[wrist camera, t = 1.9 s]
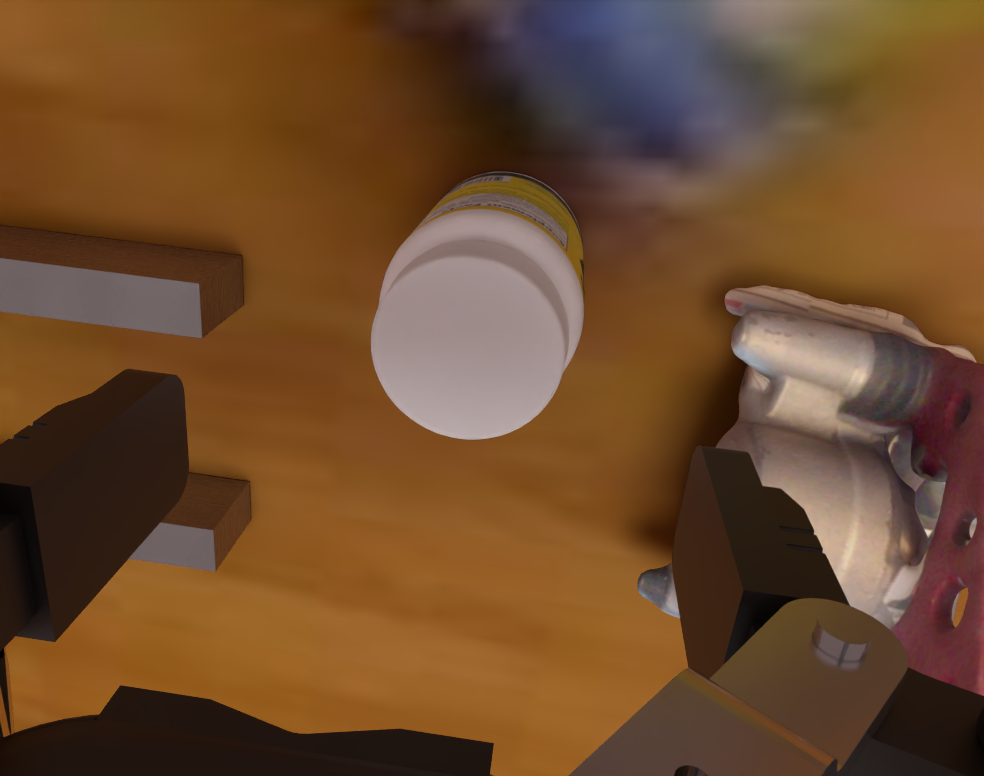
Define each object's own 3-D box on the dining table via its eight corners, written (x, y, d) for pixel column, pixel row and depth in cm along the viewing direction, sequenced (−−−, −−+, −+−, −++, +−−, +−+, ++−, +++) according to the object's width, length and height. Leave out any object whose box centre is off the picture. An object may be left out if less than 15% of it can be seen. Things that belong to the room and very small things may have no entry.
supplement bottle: (535, 353, 25) (513, 496, 17) (399, 282, 24) (314, 396, 17) (615, 217, 23) (629, 309, 15) (468, 137, 22) (408, 191, 15)
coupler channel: (-175, 203, 25) (-267, 223, 23) (241, 255, 25) (198, 283, 22) (-110, 467, 29) (-181, 512, 27) (250, 519, 29) (215, 571, 26)
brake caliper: (970, 712, 26) (839, 962, 17) (686, 519, 32) (481, 630, 23) (1193, 408, 21) (1174, 537, 12) (811, 248, 27) (612, 258, 18)
